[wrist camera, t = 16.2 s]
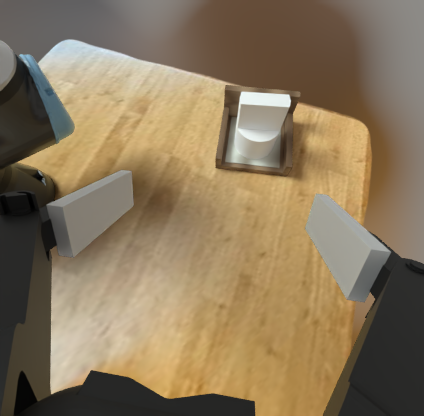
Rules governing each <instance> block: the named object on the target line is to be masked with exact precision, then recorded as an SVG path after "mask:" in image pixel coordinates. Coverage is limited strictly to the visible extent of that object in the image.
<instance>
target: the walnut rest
mask: <svg viewBox="0 0 424 416" xmlns="http://www.w3.org/2000/svg"><path fill="white" fill-rule="evenodd" d="M241 92H256V93H272V94H287V95H289V96H290V100H291V103H290V107H289V110H288V112H287V115H286V117H285V120H284V122H283V125H282V127H281V129H280V132H279V134H278V137H277V139H276V142H275V144H274V147H273V149H272V151H271V153H270V154H269V155H268V156H266V157H264V158H261V159H248V158H246V157H244V156H242V155H241V154H239V152H238V151H237V150H236V148H235V144H234V140H235V132H236V124H237V116H238V108H239V100H240V95H241ZM299 98H300V92H296V91H285V90H275V89H264V88H253V87H242V86H231V85H226V87H225V99H224V111H223V117H222V123H221V129H220V135H219V141H218V147H217V153H216V168H222V169H230V170H239V171H247V172H255V173H264V174H272V175H281V176H287V175H288V173H289V172H290V170H291V168H292V145H293V112H294V110H295V108H296V105H297V103H298V101H299Z"/></svg>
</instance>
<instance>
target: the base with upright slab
mask: <svg viewBox="0 0 424 416" xmlns="http://www.w3.org/2000/svg"><path fill="white" fill-rule="evenodd" d="M290 103H291V100H290V96H289V95H287V94H272V93H256V92H241V95H240V100H239V108H238V116H237V124H236V132H235V140H234V144H235V148H236V150H237V151H238V152H239V154H241V155H242V156H244V157H246V158H248V159H261V158H264V157H266V156H268V155H269V154H270V153H271V151H272V149H273V147H274V144H275V142H276V139H277V137H278V134H279V132H280V129H281V127H282V125H283V122H284V120H285V117H286V115H287V112H288V110H289V107H290Z"/></svg>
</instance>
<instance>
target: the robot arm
mask: <svg viewBox="0 0 424 416" xmlns="http://www.w3.org/2000/svg"><path fill="white" fill-rule="evenodd" d="M74 128H75V126H74V122H73V121H72V119H71V117H70V115H69V114H68V112H67V110H66V109H65V107H64V106H63V104H62V102H61V101H60V99H59V97H58V96H57V94H56V93H55V91H54V89H53V88H52V86H51V85H50V83H49V81H48V80H47V78H46V76H45V75H44V73H43V72H42V70H41V68H40V67H39V65H38V64H37V62H36V61H35V60H34V58H33V57H32V56H31V55H20V56H19V57H17V55H16V54H15V53H14V52H13V51H12V50H11V48H10V47H9V46H8V45H7V44H5V43H4V42H3V41H1V40H0V416H255V401H250V400H245V399H240V398H234V397H229V396H224V395H219V394H205V395H197V396H189V397H182V398H174V399H167V398H164V397H162V396H160V395H159V394H157V393H155V392H154V391H152V390H150V389H148V388H147V387H145V386H143V385H141V384H140V383H138V382H136V381H135V380H133V379H131V378H129V377H124V376H119V375H113V374H108V373H103V372H98V371H92V370H91V371H90V373H89V375H88V377H87V378H86V380H85V382H84V383H83V385H79V386H75V387H71V388H67V389H64V390H62V391H59V392H56V393H54V394H52V395H51V390H50V353H51V272H52V256H51V252H50V249H52V248H53V247H55V246H57V250H58V254H59V255H60V256H66V257H73V258H74V257H75V256H76V255H77V254H78V253H79V252H81V251H82V250H83V249H84V248H85V247H86V246H88V245H89V244H90V243H91V242H92V241H93V240H95V239H96V238H97V237H98V236H99V235H100V234H102V233H103V232H104V231H105V230H106V229H107V228H108V227H110V226H111V225H112V224H113V223H114V222H115V221H117V220H118V219H119V218H120V217H121V216H122V215H124V214H125V213H126V212H127V211H128V210H129V209H131V208H132V207H133V206H134V200H133V185H132V171H127V170H120V171H118V172H116V173H114V174H111V175H109V176H107V177H105V178H103V179H101V180H99V181H96V182H94V183H92V184H90V185H88V186H86V187H83V188H81V189H79V190H77V191H75V192H73V193H71V194H68V195H66V196H64V197H62V198H60V199H58V200H55V201H54V197H55V187H54V184H53V182H52V180H51V179H50V178H49V177H48V176H47V175H46V174H44V173H43V172H41V171H40V170H38V169H36V168H34V167H31V166H28V165H24V164H21V163H17V162H18V161H20V160H22V159H24V158H26V157H29V156H31V155H33V154H35V153H37V152H39V151H41V150H43V149H45V148H48V147H50V146H52V145H54V144H58V143H59V141H60V140H62V139H64V138H66V137H67V136H69V135H71V134H72V133H73V131H74ZM305 229H306V231H307V233H308V234H309V236H310V238H311V240H312V241H313V243H314V245H315V246H316V248H317V250H318V251H319V253H320V255H321V257H322V258H323V260H324V262H325V263H326V265H327V267H328V268H329V270H330V272H331V273H332V275H333V277H334V279H335V280H336V282H337V284H338V285H339V287H340V289H341V290H342V292H343V294H344V296H345V297H346V299H347V300H352V301H360V302H365V300H366V298H367V297H368V295H369V293H370V292H371V294H372V295H373V296H374V298H375V301H374V303H373V304H372V306H371V308H370V310H369V312H368V313H367V315H366V317H365V318H366V320H365V322H364V324H363V327H362V329H361V331H360V333H359V335H358V338H357V340H356V342H355V344H354V347H353V349H352V351H351V353H350V356H349V358H348V360H347V362H346V365H345V367H344V369H343V371H342V373H341V376H340V378H339V380H338V382H337V385H336V387H335V389H334V391H333V394H332V396H331V398H330V400H329V402H328V405H327V407H326V409H325V411H324V414H323V416H424V264H422V263H420V262H417V261H414V260H411V259H405V258H401V257H400V256H399V255H398V254H396V253H395V252H394V251H393V250H392V249H391V248H390V247H387V245H386V244H385V243H384V242H382V240H380V239H379V238H378V237H377V236H376V235H374V234H372V233H371V232H369V231H367V230H366V229H365V228H364V227H363V226H361V225H360V224H359V223H358V222H357V221H356V220H355V219H354V218H352V217H351V216H350V215H349V214H348V213H347V212H346V211H345V210H344V209H342V208H341V207H340V206H339V205H338V204H337V203H336V202H335V201H333V200H332V199H331V198H330V197H329V196H328V195H323V194H316V195H315V198H314V201H313V204H312V208H311V211H310V214H309V217H308V220H307V224H306V227H305Z"/></svg>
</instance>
